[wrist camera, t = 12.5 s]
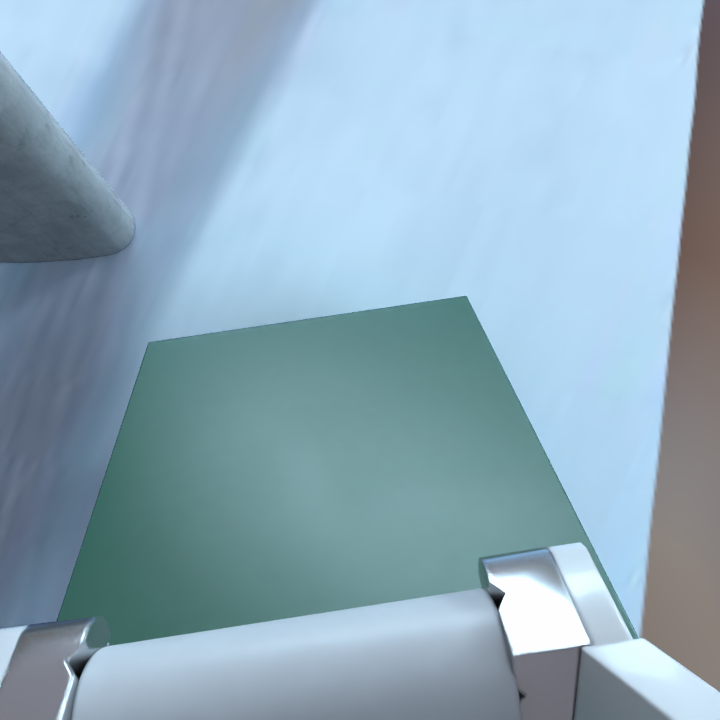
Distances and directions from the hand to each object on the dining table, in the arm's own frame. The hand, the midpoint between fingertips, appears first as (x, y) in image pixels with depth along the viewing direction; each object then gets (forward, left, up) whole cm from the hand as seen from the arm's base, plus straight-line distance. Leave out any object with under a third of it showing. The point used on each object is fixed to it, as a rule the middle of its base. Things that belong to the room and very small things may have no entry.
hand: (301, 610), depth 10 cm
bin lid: (+1, +1, -8) cm, 8 cm away
